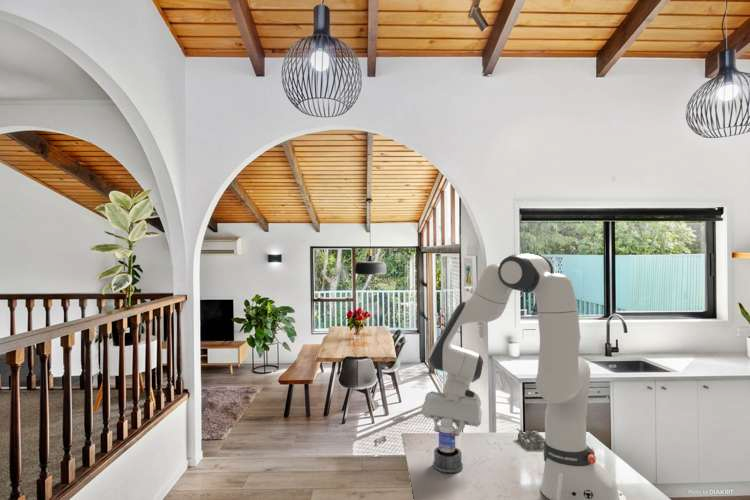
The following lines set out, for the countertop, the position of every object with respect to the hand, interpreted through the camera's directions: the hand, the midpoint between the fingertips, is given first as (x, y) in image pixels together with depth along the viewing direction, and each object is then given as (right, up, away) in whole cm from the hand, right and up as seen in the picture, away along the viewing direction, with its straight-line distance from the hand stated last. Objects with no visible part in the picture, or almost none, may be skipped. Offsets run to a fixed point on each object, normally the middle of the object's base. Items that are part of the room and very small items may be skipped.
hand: (446, 433), depth 144 cm
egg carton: (+34, -12, +18) cm, 40 cm away
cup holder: (+1, -11, 0) cm, 11 cm away
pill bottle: (0, -6, 0) cm, 6 cm away
